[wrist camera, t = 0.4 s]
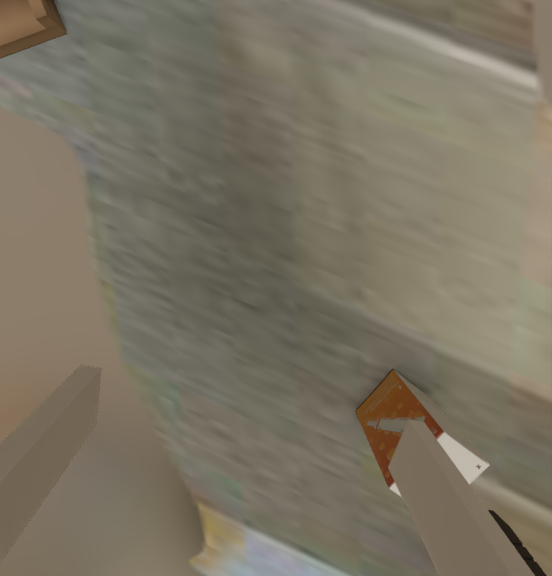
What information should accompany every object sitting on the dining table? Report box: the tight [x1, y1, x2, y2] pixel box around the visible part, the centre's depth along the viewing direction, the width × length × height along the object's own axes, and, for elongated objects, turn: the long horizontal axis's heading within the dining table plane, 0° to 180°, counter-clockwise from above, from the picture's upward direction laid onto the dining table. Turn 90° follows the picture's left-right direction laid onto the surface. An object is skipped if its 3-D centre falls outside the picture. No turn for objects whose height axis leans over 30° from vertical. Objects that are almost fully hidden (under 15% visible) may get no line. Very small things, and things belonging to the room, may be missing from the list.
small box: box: [356, 370, 489, 497], centre depth 36 cm, size 8×6×13 cm
